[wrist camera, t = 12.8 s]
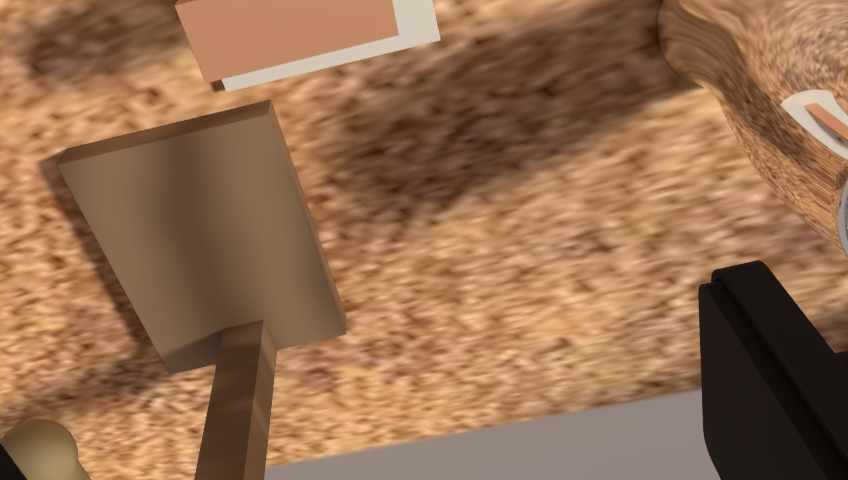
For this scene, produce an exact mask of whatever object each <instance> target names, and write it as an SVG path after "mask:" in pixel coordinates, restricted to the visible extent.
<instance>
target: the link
mask: <svg viewBox="0 0 848 480" xmlns="http://www.w3.org/2000/svg"><path fill="white" fill-rule="evenodd" d="M175 8H176V11H177V13H178V16H179V18H180V21H181V23H182V26H183V28H184V31H185V33H186V36H187V38H188V41H189V43H190V46H191V48H192V51H193V53H194V56H195V58H196V61H197V63H198V65H199V68H200V70H201V73H202V75H203V78H204V80H205V83H209V82H213V81H217V80H221V79H225V78H229V77H233V76H237V75H241V74H245V73H249V72H253V71H257V70H261V69H265V68H269V67H273V66H277V65H281V64H285V63H289V62H293V61H297V60H301V59H305V58H309V57H313V56H317V55H321V54H325V53H329V52H333V51H337V50H341V49H345V48H349V47H353V46H357V45H362V44H366V43H370V42H374V41H378V40H382V39H386V38H390V37H394V36H398V35H399V33H398V28H397V23H396V18H395V12H394V7H393V2H392V0H178V1H177V3H176V4H175Z"/></svg>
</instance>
